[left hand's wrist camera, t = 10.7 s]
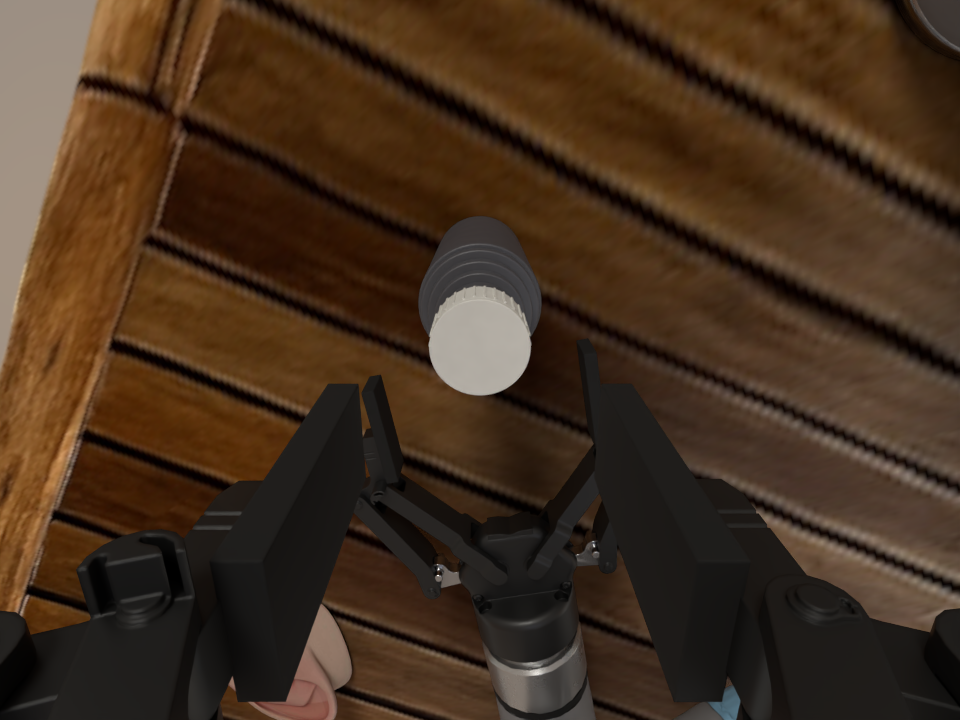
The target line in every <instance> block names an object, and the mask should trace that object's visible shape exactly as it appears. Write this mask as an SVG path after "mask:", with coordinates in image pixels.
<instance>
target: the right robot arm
mask: <svg viewBox="0 0 960 720" xmlns="http://www.w3.org/2000/svg"><path fill="white" fill-rule="evenodd" d="M577 349H578V356H579V364H580V371H581V379H582V386H583V394H584V401H585V409H586V416H587V424H588V431H589V433H590V436H591V438H592V441H593V443H594V444H593V446H592V447H591V449H590V450H589V451H588V453H587V454H586V456H585V457H584V458H583V460H582V461H581V462H580V464H579V465H578V467H577V468H576V469H575V471H574V472H573V474H572V475H571V476H570V478H569V479H568V480H567V482H566V483H565V485H564V486H563V487H562V489H561V490H560V492H559V493H558V494H557V496H556V497H555V498H554V500H550V501H549V502H548V503H547V504H546V506H545V507H544V509H543V510H542V511H541V513H540V514H539V515H538V516H536V515H530V511H529V512H522V513H518V514H516V515H513V516H511V517H499V516H497V517H490V518H487V522H485V523H483V524H481V523H480V522H478V521H477V520H475V519H474V518H472V517H471V516H469V515H468V514H465V513H464V514H460V513H459V512H457V511H456V510H454V509H453V508H451V507H450V506H448V505H447V504H445V503H444V502H443V501H441V500H440V499H438V498H437V497H435V496H434V495H432V494H431V493H429V492H428V491H426V490H425V489H424V488H422V487H421V486H419V485H418V484H416V483H415V482H413V481H412V480H410V479H409V478H407V477H406V476H404V475H403V474H402V473H401V469H402V465H403V461H404V460H403V456H402V453H401V449H400V445H399V441H398V437H397V434H396V430H395V426H394V422H393V419H392V415H391V411H390V407H389V404H388V400H387V396H386V392H385V389H384V385H383V381H382V377H381V375H377V376H371V377H369V379H368V381H367V383H366V385H365V387H364V389H363V391H362V397H363V401H364V404H365V408H366V411H367V415H368V418H369V422H370V425H371V428H370V429H366V432H365V434H364V437H363V448H364V457H365V460H366V464H367V467H368V471H369V474H370V477H368V478H366V479H365V481H364V484H363V487H362V490H361V493H360V495H359V498H358V501H357V504H356V507H355V510H354V513H355V514H356V515H357V516H358V517H359V518H360V519H361V520H362V521H363V523H364V524H365V525H366V526H367V527H368V528H369V529H370V530H371V531H372V532H373V533H374V534H375V535H376V536H377V537H378V538H379V539H380V540H381V541H382V542H383V543H384V544H385V545H386V546H387V547H388V548H389V549H390V550H391V551H392V552H393V553H394V554H395V555H396V556H397V557H398V558H399V559H400V560H401V561H402V562H403V563H404V564H405V565H406V566H407V567H408V568H409V569H410V570H411V571H412V572H413V573H414V574H415V575H416V577H417V579H418V581H419V584H420V586H421V588H422V591H423V593H424V595H425V596H426V597H427V598H429V599H436V598H438V597H439V596H440V594H441V588H443V587H447V586H451V585H455V584H459V583H462V585H463V586H464V587H465V588H466V589H467V590H468V591H469V593H470V595H471V599H472V603H473V607H474V611H475V615H476V619H477V623H478V627H479V632H480V636H481V638H482V645H483V648H484V652H485V656H486V660H487V664H488V668H489V672H490V676H491V680H492V684H493V688H494V691H495V695H496V700H497V705H498V710H499V714H500V720H596V718H595V712H594V707H593V701H592V696H591V691H590V686H589V681H588V676H587V662H586V656H585V650H584V644H583V638H582V632H581V626H580V623H579V614H578V608H577V601H576V595H575V589H574V583H573V573H574V571H575V569H576V567H577V566H588V565H599V568H600V571H601V572H603V573H606V574H609V573H612V572H614V571H615V569H616V567H617V545H618V543H617V540H616V538H615V535H614V532H613V529H612V526H611V524H610V521H609V518H608V515H607V512H606V510H605V507H604V504H603V501H602V502H601V504H600V507H599V509H598V511H597V514H596V516H595V519H594V523H593V531H591V530H589V531H587V532H586V536H585V537H584V539H583V542H582V543H581V544H580V545H578V546H573V544H572V543H571V542H570V541H569V539H570V537H571V535H572V530H573V528H574V526H575V525H576V523H577V522H578V521H579V519H580V518H581V517H582V515H583V514H584V513H585V511H586V510H587V509H588V507H589V506H590V505H591V503H592V502H593V501H594V499H595V498H596V497H597V495H598V494H599V490H598V487H597V484H596V481H595V479H594V472H595V460H596V448H597V435H598V423H599V411H600V398H601V386H600V378H599V370H598V362H597V353H596V351H595V349H594V348H593V346H592V344H591V343H590V341H589V339H582V340H577ZM410 521H411V522H412V523H414V524H415V525H417V526H418V527H420V528H421V529H423V530H424V531H426V532H427V533H429V534H430V535H432V536H433V537H435V538H436V539H438V540H439V541H441V542H442V543H444V544H445V545H447V546H448V547H449V548H450V549H451V551H452V553H453V554H454V555H455V556H456V557H457V558H459V559H460V562H459V564H452V563H450V562H449V561H448V560H447V559H446V558H445V555H444V554H443V553H438V554H437V553H436V551H435V549H434V547H433V546H432V544H431V543H430V542H429V541H428V540H427V539H426V538H425V537H424V536H423V535H422V533H421V532H420V531H419V530H418V529H417V528H416V527H415V526H414V525H413V524H412V523H411V522H410ZM739 705H740V699H739V696H738V694H737V692H736V690H735V688H734V686H733V685H731V686H729V687H727V688H725V690H724V695H723V700H722V702H701V703H699V704H697V705H696V706H694V707H693V708H691V709H689V710H688V711H686V712H684V713H683V714H681V715H679V716H678V717H676V718H674V719H673V720H736V718H737V714H738V709H739Z"/></svg>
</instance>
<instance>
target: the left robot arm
mask: <svg viewBox="0 0 960 720" xmlns="http://www.w3.org/2000/svg"><path fill="white" fill-rule="evenodd" d="M895 1H896V4H897V6H898V9H899V11H900V13H901V15H902V17H903V18H904V20H905V22H906V23H907V24H908V26H909V27H910V29H911V30H912V31H913V32H914V33H915V35H916V36H917V37H918V38H919V39H920V40H921V41H923V42H924V43H925V44H926V45H927V46H929V47H930V48H932V49H933V50H935V51H936V52H938V53H941V54H943V55H945V56H947V57H950V58H953V59H956V60H959V61H960V0H895ZM365 479H366V472H365V460H364V448H363V435H362V423H361V411H360V398H359V386H358V384H328V385H327V387H326V388H325V390H324V391H323V393H322V394H321V396H320V397H319V399H318V400H317V401H316V403H315V404H314V406H313V407H312V409H311V410H310V412H309V413H308V415H307V416H306V418H305V419H304V421H303V422H302V424H301V425H300V427H299V428H298V430H297V431H296V433H295V434H294V436H293V437H292V439H291V440H290V442H289V443H288V445H287V446H286V448H285V449H284V451H283V452H282V454H281V455H280V457H279V458H278V460H277V461H276V463H275V464H274V466H273V467H272V469H271V470H270V472H269V473H268V475H267V476H266V477H265V479H264V480H263V481H238V482H236V483H235V484H234V485H232V486H231V487H229V488H228V489H226V490H225V491H223V492H222V493H220V494H219V495H217V497H216V498H215V499H214V501H213V502H212V503H211V504H210V506H209V507H208V508H207V510H206V511H205V512H204V516H201V517H200V519H199V520H198V521H197V522H196V524H195V525H194V526H193V527H194V528H193V530H190V531H189V533H188V534H187V535H186V537H185V538H184V539H183V538H182V537H181V536H180V535H178V534H177V533H176V532H172V531H167V530H162V529H159V530H145V531H140V532H136V533H132V534H129V535H125V536H122V537H120V538H117V539H115V540H113V541H111V542H109V543H107V544H104V545H103V546H101V547H100V548H98V549H97V550H96V551H94V552H93V553H91V554H90V555H88V556H87V557H86V558H85V559H84V561H83V562H82V563H81V564H80V566H79V567H78V568H77V569H76V571H77V574H78V577H79V581H80V584H81V587H82V590H83V594H84V597H85V600H86V603H87V607H88V610H89V613H90V616H91V619H90V621H86V622H83V623H80V624H76V625H71V626H67V627H63V628H58V629H54V630H50V631H45V632H41V633H36V634H32V635H30V632H29V629H28V626H27V623H26V621H25V619H24V618H23V617H21V616H20V615H19V614H17V613H16V612H7V611H0V720H223V715H222V709H221V705H220V701H221V699H222V697H223V695H224V693H225V691H226V689H227V687H228V685H229V683H230V681H231V678H232V676H233V680H234V685H235V690H236V695H237V700H238V702H286V700H287V697H288V694H289V692H290V689H291V686H292V683H293V680H294V678H295V675H296V672H297V669H298V666H299V664H300V661H301V658H302V655H303V652H304V650H305V647H306V644H307V641H308V638H309V636H310V633H311V630H312V627H313V624H314V622H315V619H316V616H317V613H318V610H319V608H320V605H321V602H322V599H323V596H324V594H325V591H326V588H327V585H328V582H329V580H330V577H331V574H332V571H333V568H334V566H335V563H336V560H337V557H338V554H339V552H340V549H341V546H342V543H343V540H344V538H345V535H346V532H347V529H348V526H349V524H350V521H351V518H352V515H353V512H354V510H355V507H356V504H357V501H358V498H359V495H360V493H361V490H362V487H363V484H364V481H365ZM594 479H595V481H596V484H597V487H598V490H599V493H600V495H601V498H602V501H603V504H604V507H605V510H606V512H607V515H608V518H609V521H610V524H611V526H612V529H613V532H614V535H615V538H616V540H617V543H618V546H619V549H620V552H621V554H622V557H623V560H624V563H625V566H626V568H627V571H628V574H629V577H630V580H631V582H632V585H633V588H634V591H635V594H636V596H637V599H638V602H639V605H640V608H641V610H642V613H643V616H644V619H645V622H646V624H647V627H648V630H649V633H650V636H651V638H652V641H653V644H654V647H655V650H656V652H657V655H658V658H659V661H660V664H661V666H662V669H663V672H664V675H665V678H666V680H667V683H668V686H669V689H670V692H671V694H672V697H673V700H674V702H722V700H723V695H724V690H725V685H726V680H727V675H728V676H729V678H730V680H731V682H732V684H733V686H734V688H735V690H736V692H737V694H738V696H739V699H740V705H739V709H738V714H737V718H736V720H960V608H959V609H950V610H944V611H943V612H942V613H940V614H939V615H938V616H936V618H935V621H934V623H933V626H932V629H931V632H926V631H921V630H917V629H913V628H908V627H904V626H899V625H895V624H891V623H886V622H882V621H879V620H875V619H872V618H869V616H868V615H867V613H866V612H865V610H864V609H863V607H862V606H861V605H860V603H859V602H857V601H856V600H855V599H854V598H852V597H851V596H850V595H849V594H848V593H846V592H845V591H844V590H842V589H840V588H838V587H836V586H834V585H832V584H830V583H828V582H827V581H824V580H821V579H817V578H814V577H811V576H808V575H806V574H805V572H804V571H803V570H802V568H801V567H800V566H799V565H798V563H797V562H796V561H795V560H794V558H793V557H792V556H791V554H790V553H789V552H788V551H787V549H786V548H785V547H784V546H783V544H782V543H781V542H780V540H779V539H778V538H777V537H776V535H775V534H774V533H773V531H772V530H771V529H770V528H767V524H766V523H765V521H764V520H763V519H762V517H761V516H760V515H759V514H756V510H755V508H754V507H753V506H752V505H751V503H750V502H749V501H748V500H747V498H746V497H745V496H744V494H743V493H741V492H740V491H738V490H737V489H735V488H734V487H732V486H731V485H729V484H728V483H726V482H725V481H723V480H722V479H695V477H694V476H693V475H692V473H691V472H690V470H689V469H688V467H687V466H686V464H685V463H684V461H683V460H682V458H681V457H680V455H679V454H678V452H677V451H676V449H675V448H674V446H673V445H672V443H671V442H670V440H669V439H668V437H667V436H666V434H665V433H664V431H663V430H662V428H661V427H660V425H659V424H658V422H657V421H656V419H655V418H654V416H653V415H652V413H651V412H650V410H649V409H648V407H647V406H646V404H645V403H644V401H643V400H642V399H641V397H640V396H639V394H638V393H637V391H636V390H635V388H634V387H633V385H632V384H602V386H601V398H600V411H599V423H598V435H597V448H596V460H595V472H594Z"/></svg>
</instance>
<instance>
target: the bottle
mask: <svg viewBox="0 0 960 720" xmlns="http://www.w3.org/2000/svg"><path fill="white" fill-rule="evenodd" d="M473 286H476V287H478V286H481V287H483V286H486V287H490V288H496V289H497V290H499V291H501V292H503V291H504V292H505V294H506V295H508V296H509V297H510V298H511V297H512V298H513V300H514V301H515V302H516V304H517V305H518V304H519V305H520V309H521V311H522V313H523V312H524V314H525V318H526V321H527V324H528V327H529V331H530V335H531V336H532V334H533V332H534V330H535V329H536V327H537V324H538V321H539V318H540V313H541V305H542V304H541V293H540V288H539V285H538V282H537V279H536V277H535V275H534V273H533V271H532V269H531V266H530V264H529V262H528V260H527V258H526V256H525V253H524V251H523V249H522V247H521V245H520V243H519V241H518V239H517V237H516V235H515V234H514V233H513V231H512V230H511V229H510V228H509V227H508V226H507V225H505V224H504V223H502V222H500V221H498V220H496V219H493V218H490V217H484V216H476V217H470V218H467V219H464V220H462V221H460V222H458V223H456V224H455V225H453V226H452V227H451V228H450V229H449V230H448V231H447V233H446V234H445V235H444V237H443V239H442V241H441V243H440V245H439V247H438V249H437V251H436V253H435V256H434V258H433V260H432V262H431V264H430V266H429V269H428V271H427V273H426V275H425V277H424V279H423V282H422V285H421V288H420V292H419V314H420V318H421V321H422V324H423V326H424V329H425V330H426V332H427V334H428V336H429V335H430V331H431V328H432V324H433V321H434V317H435V314H436V313H438V311H439V307H440V305H443V304H444V302H445V301H446V298H450V297H451V296H452V295H454V292H456V293H457V292H459V291H461V290H463V288H470V287H473ZM531 336H529V337H531Z"/></svg>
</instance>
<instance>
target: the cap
mask: <svg viewBox="0 0 960 720" xmlns="http://www.w3.org/2000/svg"><path fill="white" fill-rule="evenodd" d="M529 336H531V335H530V331H529V327H528V324H527V321H526V318H525V314H524V312H523V313H522V311H521V309H520V305H519V304H518V305H517V304H516V302H515V301H514V300H513V298H512V297H511V298H510V297H509V296H508V295H506V294H505V292H504V291H503V292H501V291H499V290H497V289H496V288H490V287H486V286H483V287H481V286H478V287H476V286H473V287H470V288H463V290H461V291H459V292H457V293H456V292H454V295H452V296H451V297H450V298H446V301H445V302H444V304H443V305H440V307H439V311H438V313H436V314H435V317H434V321H433V324H432V328H431V331H430V335H429V337H430V342H429V351H430V358H431V361H432V364H433V366H434V369H435V370H436V372H437V374H438V375H439V376H440V377H441V379H442V380H443V381H444V382H445V383H447V384H448V385H449V386H451V387H452V388H454V389H456V390H458V391H460V392H463V393H466V394H471V395H489V394H494V393H497V392H500V391H502V390H504V389H506V388H508V387H509V386H511V385H512V384H513V383H515V382H516V381H517V380H518V379H519V377H520V376H521V375H522V373H523V372H524V370H525V368H526V367H527V364H528V361H529V358H530V351H531V341H530V337H529Z"/></svg>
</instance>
